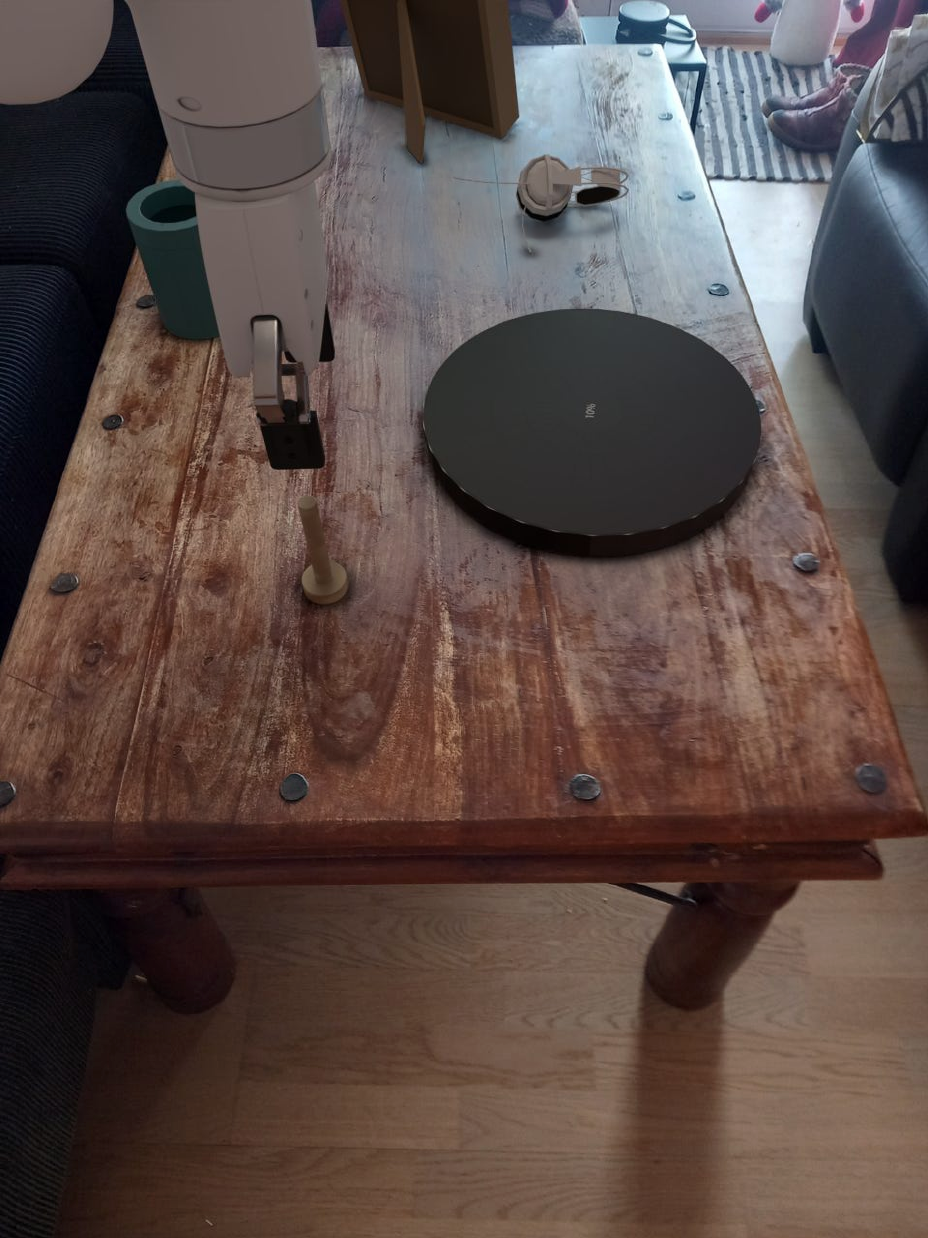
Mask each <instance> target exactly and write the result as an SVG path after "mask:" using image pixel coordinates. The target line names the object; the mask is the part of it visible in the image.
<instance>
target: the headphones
mask: <svg viewBox="0 0 928 1238" xmlns="http://www.w3.org/2000/svg"><path fill="white" fill-rule="evenodd" d="M583 170H585V171H586V170H591V171H590V172H587V173H583V174H582V171H583ZM621 173H622V174H623V175H625V178H624V179H622V180H621ZM589 174H590V179H589V178H587V177H583V176H585V175H589ZM452 178H453V179H456V180H461V181H467V182H474V183H482V184H499V185H500V184H502V185H517V186H516V187H517V188H516V193H515V198H516V201H517V205H518V208H519V210H520V211H521V212H522V217H521V227H522V229H521V230H522V233H523V239H524V242H525V244H526V246H527V247H526V248H527V250H528V253H529V254H532V253H533V251H532V249H531V248H530V246H529V244H528V242H527V239H526V234H525V230H524V215H525V216H526V217H527V218H528V219H529V220H532V221H536V222H539V223H545V222H548V221H551V220H555V219H558V218H559V217H560V215H562V213H563V212H564V211H565V210H566V209H567V208H578V207H591V206H597V205H602V204H606V203H610V202H614V201H616V200H619V199H622V198H624V197H625V196H627V195H628V193H629V191H630V189H629V188H628V186H626V185H625V184H623V183H625V182H626V181H627V180H628V179H629V174H628V173H627V172H626V171H625V170H623V169H620V168H616V167H610V166H609V167H608V166H590V167H589V166H588V167H582V166H578V167H574V168H571V169H570V167H569V165H567V164H566V163H565V162H564V161H563V160H562V159H561V158H559V157H558V156H553V155H550V154H543V155H540V156H537V157H534V158H532V159H531V160H529V161H528V162H527V164H526V165H525V166H524V167H523V169H522V170H521V171H520V172H519V177H518V181H517V182H503V181H485V180H475V179H467V178H461V177H457V176H453V177H452ZM582 179H585V180H587V181H588V182H587V181H586V182H582ZM583 185H595V186H589V187H583V188H581V189H580V190H573V188H574V186H578V187H582V186H583ZM621 188H624V189H625V190H626V191H625V192H624V193H623V194H622V195H621V193H622V192H621V191H622V189H621ZM572 196H574V200H571V199H572V198H571V197H572ZM569 202H571V203H572V202H573V203H575V204H569Z"/></svg>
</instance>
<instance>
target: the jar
mask: <svg viewBox="0 0 928 1238" xmlns="http://www.w3.org/2000/svg"><path fill="white" fill-rule="evenodd" d="M125 214H126V218H127V222H128V223H129V224H128V225H129V226H130V227H129V228H130V230H131V232H132V236H133V239H134V242H135V245H136V248H137V250H138V253H139V257H140V259H141V263H142V265H143V269H144V272H145V274H146V278H147V281H148V283H149V286H150V290H151V293H152V296H153V298H154V302H155V305H156V307H157V310H158V313H159V316H160V319H161V322H162V324H163V326H164V328H165V329H166V330H167V331H168V332H169V333H170V334H172V335H174V336H175V337H178V338H181V339H185V340H194V341H197V340H199V341H200V340H210V339H215V338H220V334H219V330H218V325H217V321H216V317H215V312H214V308H213V303H212V299H211V294H210V289H209V285H208V280H207V275H206V270H205V265H204V259H203V254H202V248H201V242H200V236H199V229H198V221H197V213H196V203H195V192H193V191H191V190H190V189H188V188H187V187H185V186H184V185H183V184H182V183H181V182H180V180H179V179H177V178H176V179H169V180H164V181H160V182H157V183H154V184H151V185H149V186H146V187H144V188H142V189H141V190H140V191H138V192H136V193H135V194H134V195H133V196H132V197H131V198H130V200H128V202H127V205H126V207H125Z"/></svg>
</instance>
